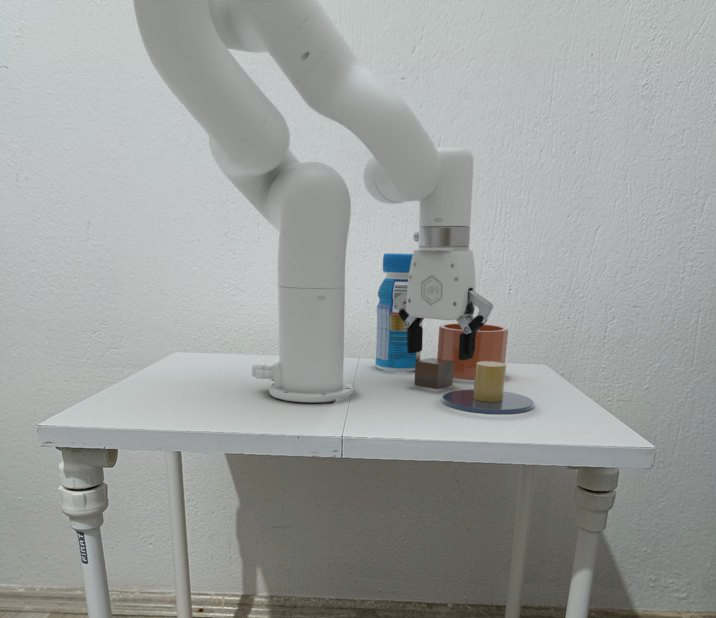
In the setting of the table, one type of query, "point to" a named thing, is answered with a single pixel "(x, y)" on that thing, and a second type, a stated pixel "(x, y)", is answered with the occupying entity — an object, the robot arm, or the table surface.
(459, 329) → the tin
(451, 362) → the block
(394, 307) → the beverage bottle
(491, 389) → the cover
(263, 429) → the table surface
